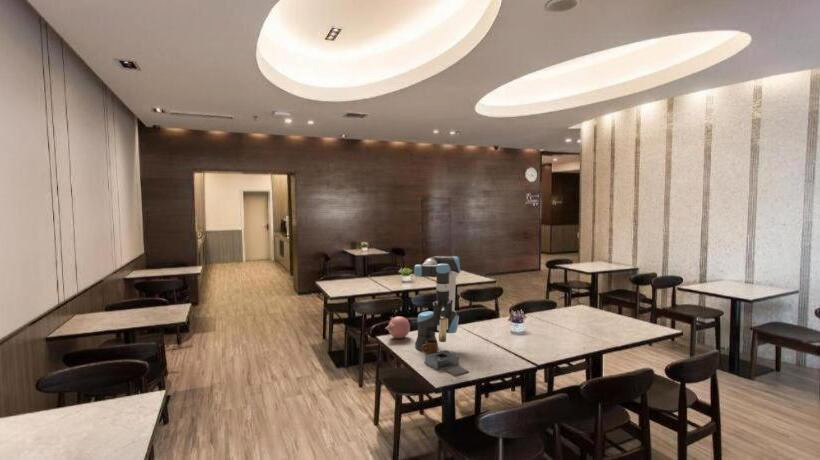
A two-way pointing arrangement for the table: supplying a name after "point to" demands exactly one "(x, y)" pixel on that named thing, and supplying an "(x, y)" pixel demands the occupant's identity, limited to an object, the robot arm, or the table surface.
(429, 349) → the mug
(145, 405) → the table surface
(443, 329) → the gold metal cylinder
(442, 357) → the housing
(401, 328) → the balloon
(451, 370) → the mat
